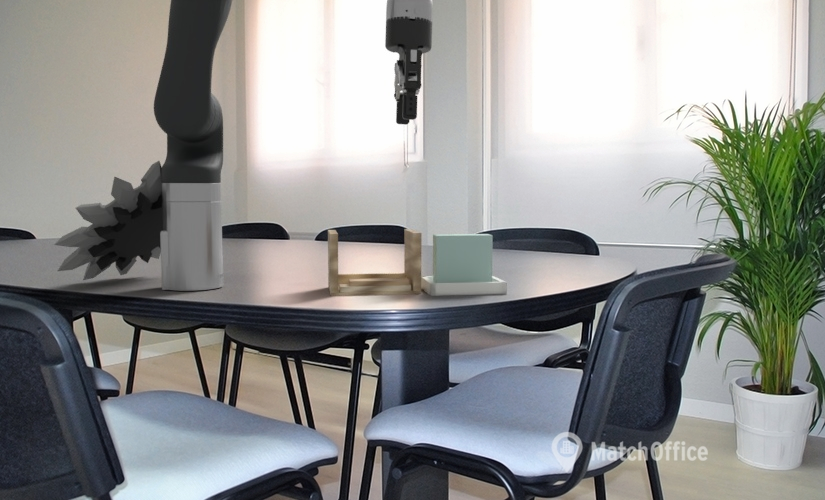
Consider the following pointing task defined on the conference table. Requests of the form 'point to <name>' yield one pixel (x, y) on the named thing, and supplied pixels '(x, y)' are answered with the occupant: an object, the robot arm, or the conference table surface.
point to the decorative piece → (119, 227)
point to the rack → (410, 272)
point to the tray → (463, 287)
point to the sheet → (462, 258)
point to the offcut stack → (376, 285)
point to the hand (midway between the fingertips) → (405, 121)
